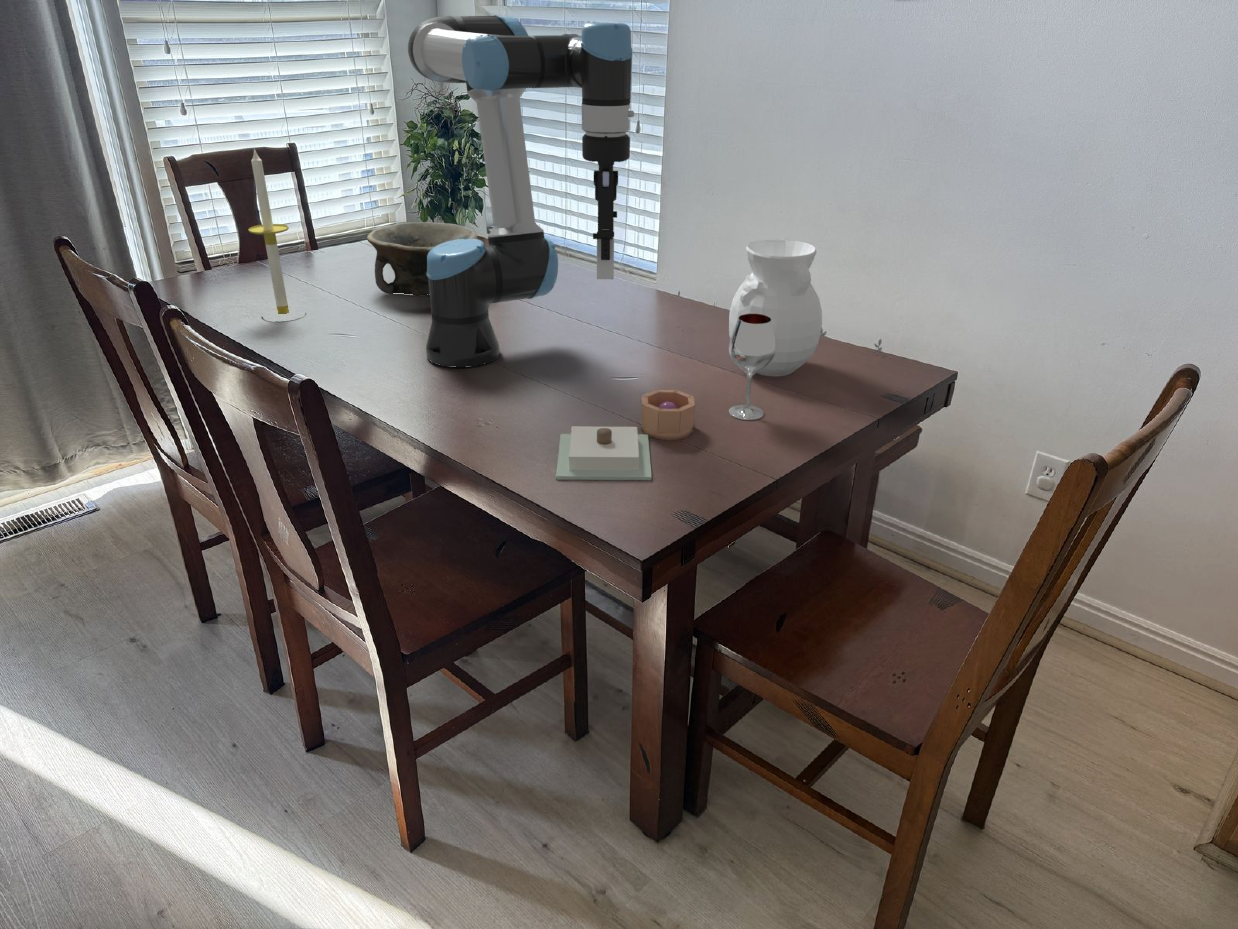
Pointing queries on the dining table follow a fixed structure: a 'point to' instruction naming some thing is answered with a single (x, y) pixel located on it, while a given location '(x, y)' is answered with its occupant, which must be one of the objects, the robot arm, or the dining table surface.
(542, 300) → the dining table surface
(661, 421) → the pot
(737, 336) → the wineglass
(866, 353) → the dining table surface
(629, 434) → the lid
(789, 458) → the dining table surface
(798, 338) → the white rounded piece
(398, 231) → the bowl
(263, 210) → the candle
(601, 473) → the mat
